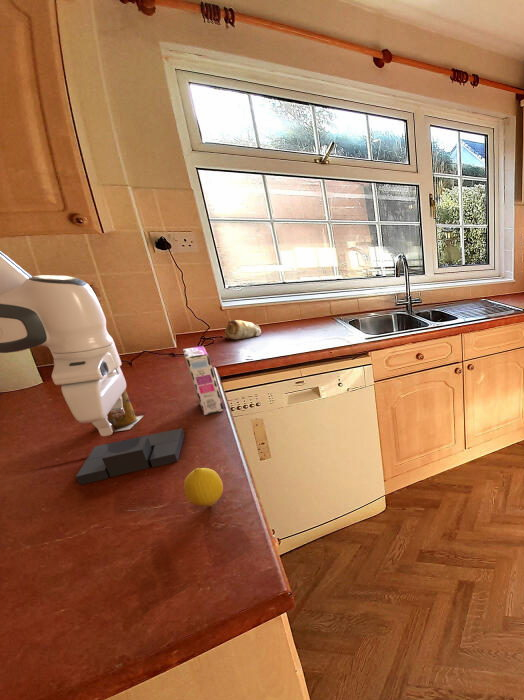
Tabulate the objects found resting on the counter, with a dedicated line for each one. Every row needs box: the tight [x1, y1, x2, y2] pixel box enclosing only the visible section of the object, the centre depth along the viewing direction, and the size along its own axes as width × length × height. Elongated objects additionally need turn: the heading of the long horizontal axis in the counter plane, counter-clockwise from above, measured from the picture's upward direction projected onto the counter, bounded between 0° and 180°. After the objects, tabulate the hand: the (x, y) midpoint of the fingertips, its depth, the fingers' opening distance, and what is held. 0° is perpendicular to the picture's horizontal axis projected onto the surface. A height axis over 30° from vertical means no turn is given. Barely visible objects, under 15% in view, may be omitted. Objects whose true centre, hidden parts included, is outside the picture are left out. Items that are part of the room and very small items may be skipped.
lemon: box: [183, 467, 224, 507], centre depth 76 cm, size 6×6×8 cm
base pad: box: [75, 427, 185, 486], centre depth 93 cm, size 16×14×2 cm
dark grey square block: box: [102, 437, 153, 478], centre depth 90 cm, size 6×6×4 cm
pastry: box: [224, 319, 262, 340], centre depth 187 cm, size 14×12×8 cm
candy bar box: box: [182, 345, 225, 416], centre depth 115 cm, size 11×5×16 cm, turn 40°
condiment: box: [107, 389, 144, 433], centre depth 107 cm, size 7×8×12 cm
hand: (113, 424), depth 87 cm, fingers open, 8 cm apart
